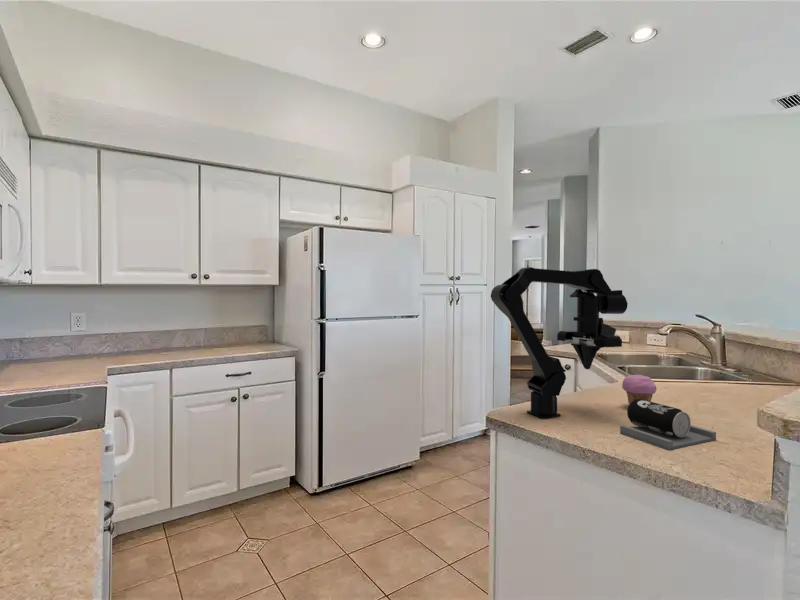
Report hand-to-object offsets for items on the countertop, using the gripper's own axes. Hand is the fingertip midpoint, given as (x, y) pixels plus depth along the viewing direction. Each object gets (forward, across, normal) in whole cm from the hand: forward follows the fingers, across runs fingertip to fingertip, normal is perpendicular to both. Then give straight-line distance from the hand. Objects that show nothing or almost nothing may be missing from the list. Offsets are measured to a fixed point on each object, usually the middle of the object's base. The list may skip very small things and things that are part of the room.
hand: (587, 369), depth 118 cm
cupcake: (+12, -2, -18) cm, 21 cm away
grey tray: (+12, -22, -3) cm, 26 cm away
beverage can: (+8, -14, -2) cm, 16 cm away
